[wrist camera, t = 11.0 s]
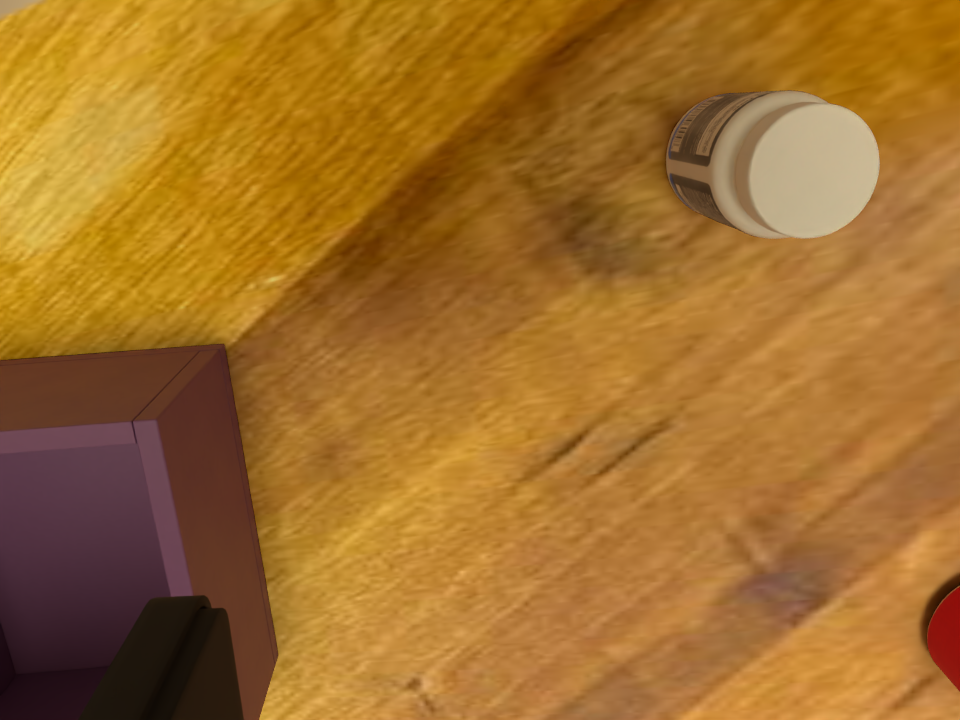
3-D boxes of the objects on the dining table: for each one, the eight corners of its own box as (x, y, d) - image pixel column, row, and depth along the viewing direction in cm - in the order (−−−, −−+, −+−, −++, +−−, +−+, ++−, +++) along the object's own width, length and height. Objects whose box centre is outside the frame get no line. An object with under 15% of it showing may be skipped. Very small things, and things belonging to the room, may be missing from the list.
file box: (-83, 366, 33) (-247, 450, 25) (224, 343, 33) (156, 419, 25) (11, 677, 38) (-102, 829, 30) (278, 655, 38) (235, 800, 30)
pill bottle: (785, 202, 32) (897, 236, 24) (670, 226, 32) (744, 267, 24) (776, 80, 31) (891, 74, 23) (656, 105, 31) (729, 107, 23)
